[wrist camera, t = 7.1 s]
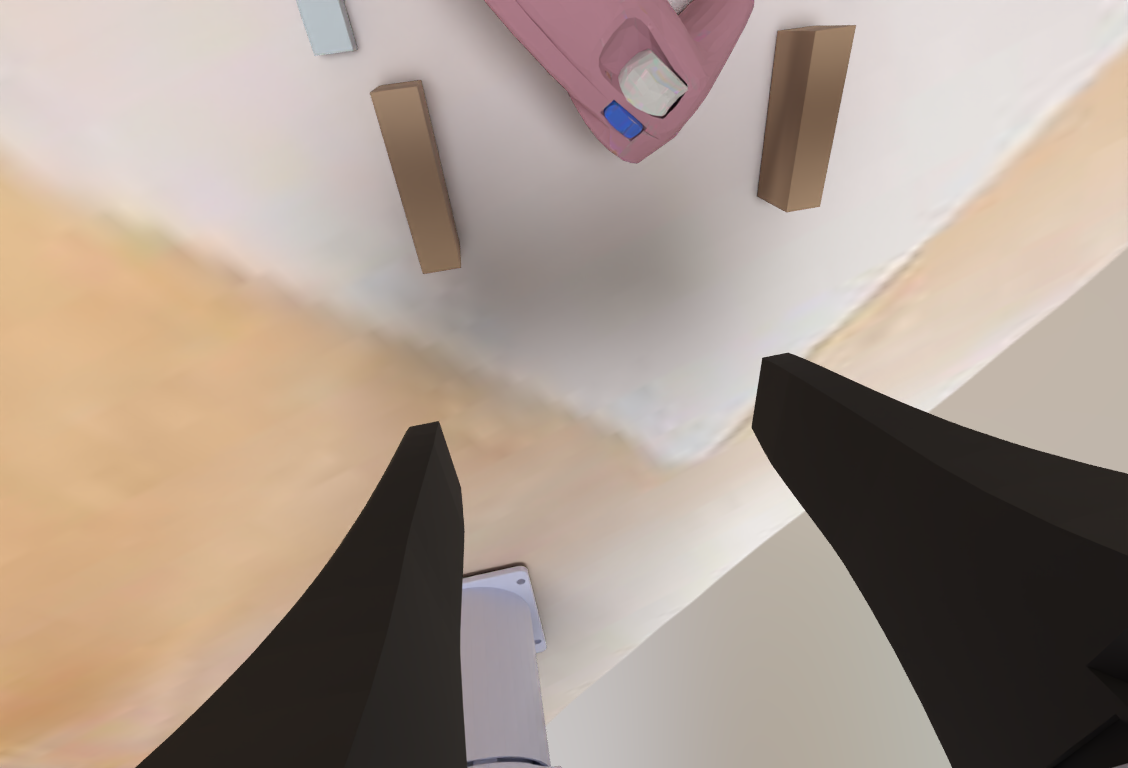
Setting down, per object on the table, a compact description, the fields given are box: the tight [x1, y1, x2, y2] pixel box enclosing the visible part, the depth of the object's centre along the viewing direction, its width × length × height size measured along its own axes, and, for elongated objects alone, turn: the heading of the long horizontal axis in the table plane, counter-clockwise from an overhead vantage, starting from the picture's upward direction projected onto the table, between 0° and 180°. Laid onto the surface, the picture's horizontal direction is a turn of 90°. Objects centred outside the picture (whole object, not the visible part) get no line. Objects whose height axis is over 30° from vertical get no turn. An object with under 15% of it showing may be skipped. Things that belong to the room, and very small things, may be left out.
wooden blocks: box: [370, 25, 856, 274], centre depth 16 cm, size 5×13×2 cm, turn 96°
